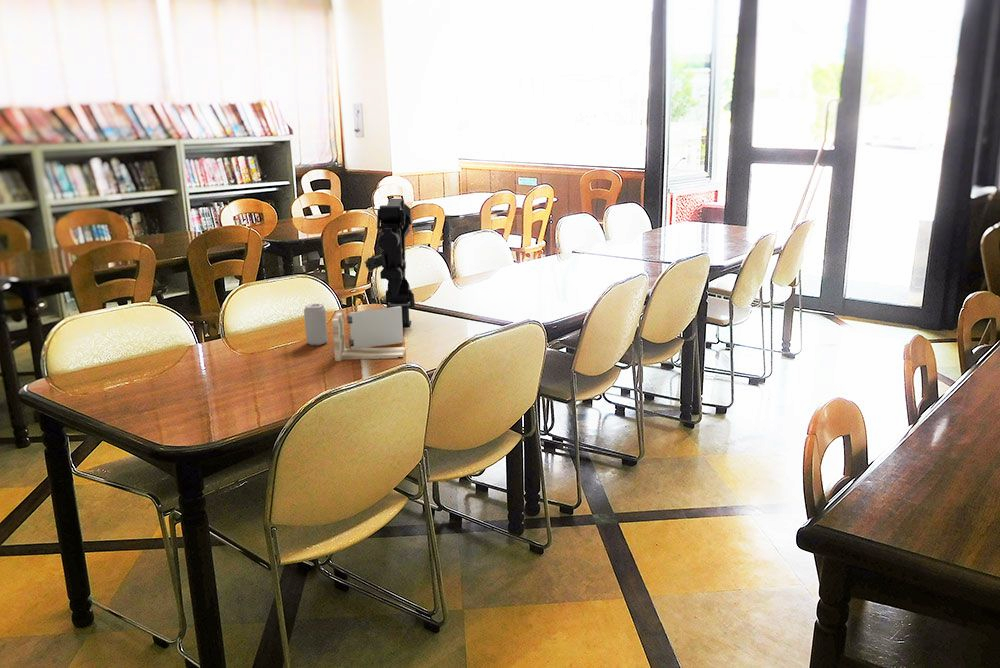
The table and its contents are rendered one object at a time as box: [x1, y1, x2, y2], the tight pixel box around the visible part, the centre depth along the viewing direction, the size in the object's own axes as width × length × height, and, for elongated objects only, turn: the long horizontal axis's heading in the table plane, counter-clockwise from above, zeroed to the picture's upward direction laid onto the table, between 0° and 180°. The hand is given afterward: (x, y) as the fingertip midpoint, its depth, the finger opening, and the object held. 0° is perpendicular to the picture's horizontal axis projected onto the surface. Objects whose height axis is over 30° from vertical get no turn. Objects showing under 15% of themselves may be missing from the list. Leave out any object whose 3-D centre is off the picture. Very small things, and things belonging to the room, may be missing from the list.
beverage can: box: [303, 303, 329, 346], centre depth 246 cm, size 6×6×12 cm
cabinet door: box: [346, 306, 404, 348], centre depth 240 cm, size 2×17×11 cm, turn 117°
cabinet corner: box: [331, 311, 406, 362], centre depth 232 cm, size 10×19×12 cm, turn 92°
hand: (395, 296), depth 250 cm, fingers closed
